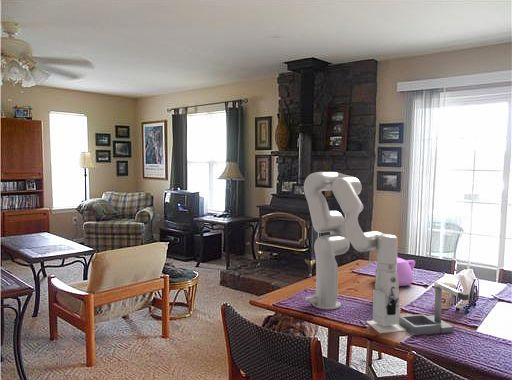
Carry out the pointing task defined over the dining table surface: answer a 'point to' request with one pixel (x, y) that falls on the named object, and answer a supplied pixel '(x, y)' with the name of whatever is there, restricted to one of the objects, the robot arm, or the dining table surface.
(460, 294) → the bar
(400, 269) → the kettle
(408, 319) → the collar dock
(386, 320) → the supplement box
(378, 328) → the tile pad
